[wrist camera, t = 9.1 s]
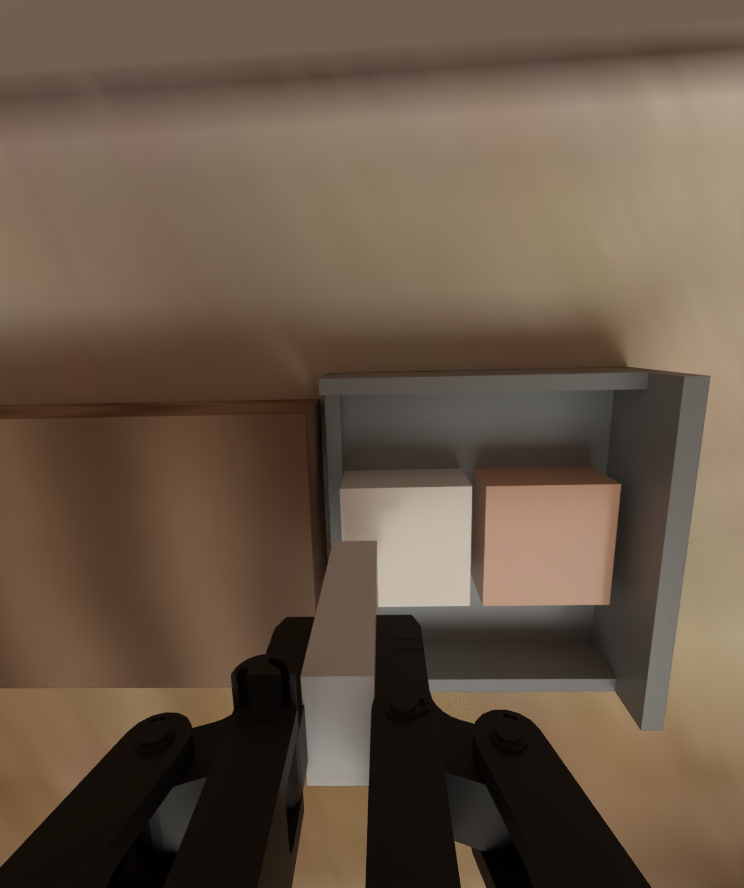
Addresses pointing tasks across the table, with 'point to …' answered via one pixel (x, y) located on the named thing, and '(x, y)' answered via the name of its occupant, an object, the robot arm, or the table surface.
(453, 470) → the cream tile
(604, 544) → the terracotta tile
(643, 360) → the table surface
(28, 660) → the walnut board
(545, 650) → the tray
